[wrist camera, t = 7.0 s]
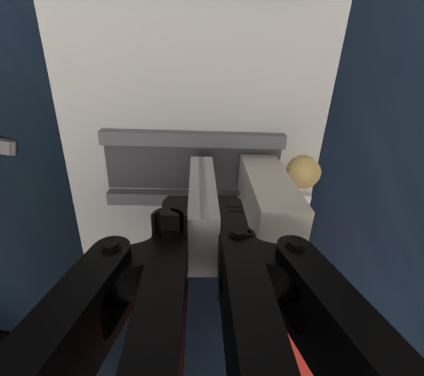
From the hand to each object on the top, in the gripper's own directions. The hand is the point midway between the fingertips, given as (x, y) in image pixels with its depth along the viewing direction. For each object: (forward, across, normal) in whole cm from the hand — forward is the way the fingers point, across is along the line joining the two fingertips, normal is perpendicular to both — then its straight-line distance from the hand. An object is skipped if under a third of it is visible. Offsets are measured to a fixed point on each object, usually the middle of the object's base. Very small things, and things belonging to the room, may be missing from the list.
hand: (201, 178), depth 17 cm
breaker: (+2, +4, 0) cm, 4 cm away
